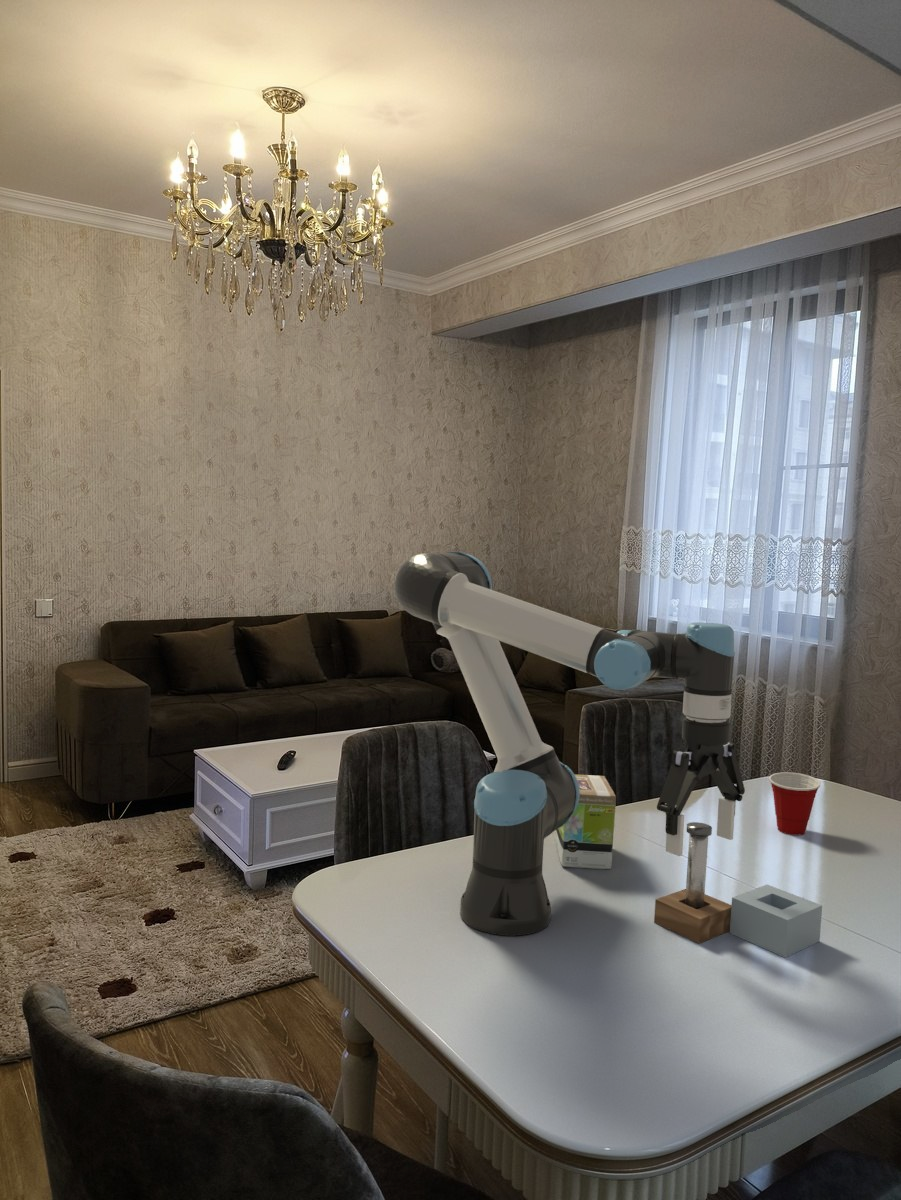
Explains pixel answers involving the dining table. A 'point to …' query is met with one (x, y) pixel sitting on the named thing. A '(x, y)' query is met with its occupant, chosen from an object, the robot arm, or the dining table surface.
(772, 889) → the socket block
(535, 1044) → the dining table surface
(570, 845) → the tea box
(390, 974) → the dining table surface
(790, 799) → the plastic cup
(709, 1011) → the dining table surface
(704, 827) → the lock pin
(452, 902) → the dining table surface
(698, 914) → the mount block
